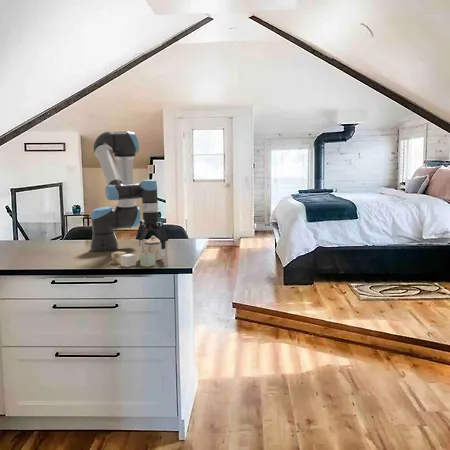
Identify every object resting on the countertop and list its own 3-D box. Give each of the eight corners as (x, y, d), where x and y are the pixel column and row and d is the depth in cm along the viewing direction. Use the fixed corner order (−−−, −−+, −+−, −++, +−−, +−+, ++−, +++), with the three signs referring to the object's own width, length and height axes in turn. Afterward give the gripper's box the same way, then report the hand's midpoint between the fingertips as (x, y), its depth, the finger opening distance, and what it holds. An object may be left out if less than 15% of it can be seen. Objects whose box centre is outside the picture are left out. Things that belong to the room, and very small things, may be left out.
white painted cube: (121, 265, 244) (120, 255, 243) (129, 263, 247) (129, 253, 247) (127, 267, 240) (126, 256, 240) (136, 265, 244) (135, 254, 243)
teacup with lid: (150, 256, 262) (149, 234, 261) (166, 257, 259) (165, 234, 257) (138, 261, 251) (137, 238, 250) (155, 262, 248) (153, 238, 246)
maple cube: (111, 263, 250) (111, 253, 249) (118, 261, 254) (118, 251, 254) (120, 264, 248) (119, 253, 247) (126, 262, 252) (126, 252, 251)
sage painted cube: (140, 265, 243) (139, 255, 242) (148, 263, 246) (147, 253, 246) (147, 266, 239) (147, 256, 239) (155, 264, 243) (155, 254, 243)
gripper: (127, 211, 256) (129, 253, 259) (163, 213, 241) (165, 258, 244) (138, 209, 262) (141, 250, 265) (174, 211, 247) (176, 255, 250)
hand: (152, 254), depth 255 cm, fingers open, 13 cm apart
